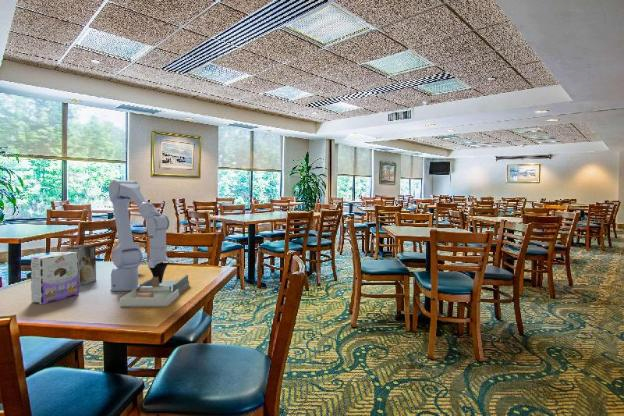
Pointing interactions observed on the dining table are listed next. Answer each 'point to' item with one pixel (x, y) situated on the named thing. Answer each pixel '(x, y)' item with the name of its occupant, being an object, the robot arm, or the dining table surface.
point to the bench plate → (170, 284)
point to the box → (147, 300)
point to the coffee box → (85, 263)
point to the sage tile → (161, 294)
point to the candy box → (54, 277)
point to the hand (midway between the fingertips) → (158, 283)
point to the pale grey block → (155, 286)
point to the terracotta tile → (146, 295)
